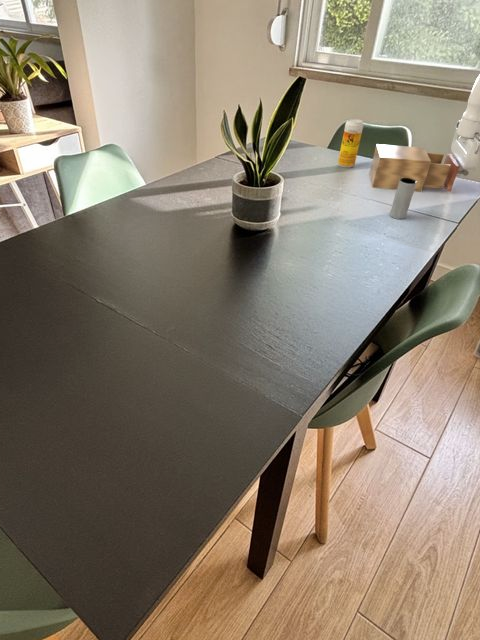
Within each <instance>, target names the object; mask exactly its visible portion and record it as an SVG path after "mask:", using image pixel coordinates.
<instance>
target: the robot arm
mask: <svg viewBox="0 0 480 640" xmlns="http://www.w3.org/2000/svg"><path fill="white" fill-rule="evenodd" d="M455 129H456V130H455V132H454V135H453V138H452V143H451V146H450V153H451V154H452V155H453V157H454V158H455V160H456V161H457V163H458V164H459V166H460V168H459V170H458V171H463V170H464V169H467V170H468V171H469V170H471V171H474V170H476V168H477V167H478V165H479V162H480V74H479V75H478V76H477V78H476V80H475V82H474V84H473V86H472V89H471V91H470V94H469V97H468V99H467V106H466V109H465V111H464V112H463V114H462V116H461V119H460V120H458V121H457V122H456V125H455ZM461 175H462V174H458V173H457V175H456V177H461Z"/></svg>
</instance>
